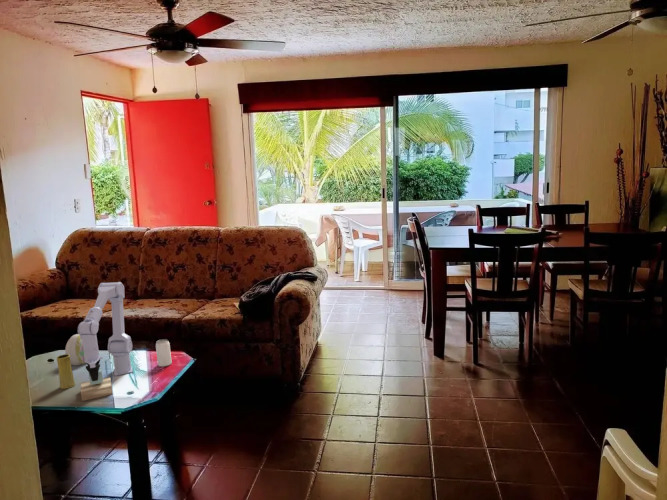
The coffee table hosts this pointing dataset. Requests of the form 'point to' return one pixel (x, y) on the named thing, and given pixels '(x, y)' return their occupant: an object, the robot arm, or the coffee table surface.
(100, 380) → the teal cube
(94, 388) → the beech block
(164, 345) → the can
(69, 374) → the vase
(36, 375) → the coffee table surface
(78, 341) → the decorative egg
